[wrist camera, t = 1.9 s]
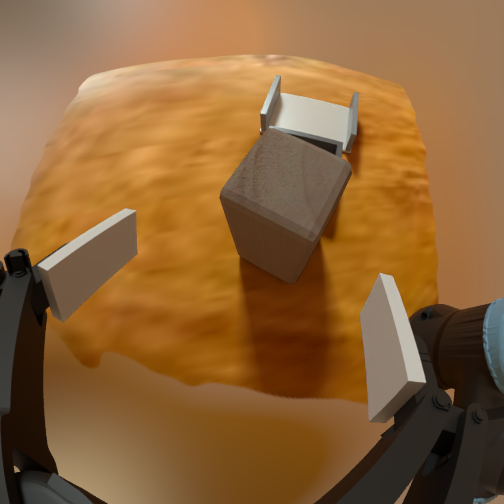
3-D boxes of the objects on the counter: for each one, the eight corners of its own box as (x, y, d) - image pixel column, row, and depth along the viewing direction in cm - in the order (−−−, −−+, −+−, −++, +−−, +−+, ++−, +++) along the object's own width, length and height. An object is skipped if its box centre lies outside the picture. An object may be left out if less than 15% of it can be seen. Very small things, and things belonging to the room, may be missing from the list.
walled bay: (350, 153, 48) (357, 135, 42) (259, 132, 50) (259, 113, 45) (353, 111, 51) (359, 93, 46) (274, 93, 54) (274, 74, 48)
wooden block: (321, 233, 43) (357, 161, 24) (292, 287, 41) (315, 246, 22) (267, 205, 45) (267, 121, 26) (236, 256, 43) (213, 193, 24)
